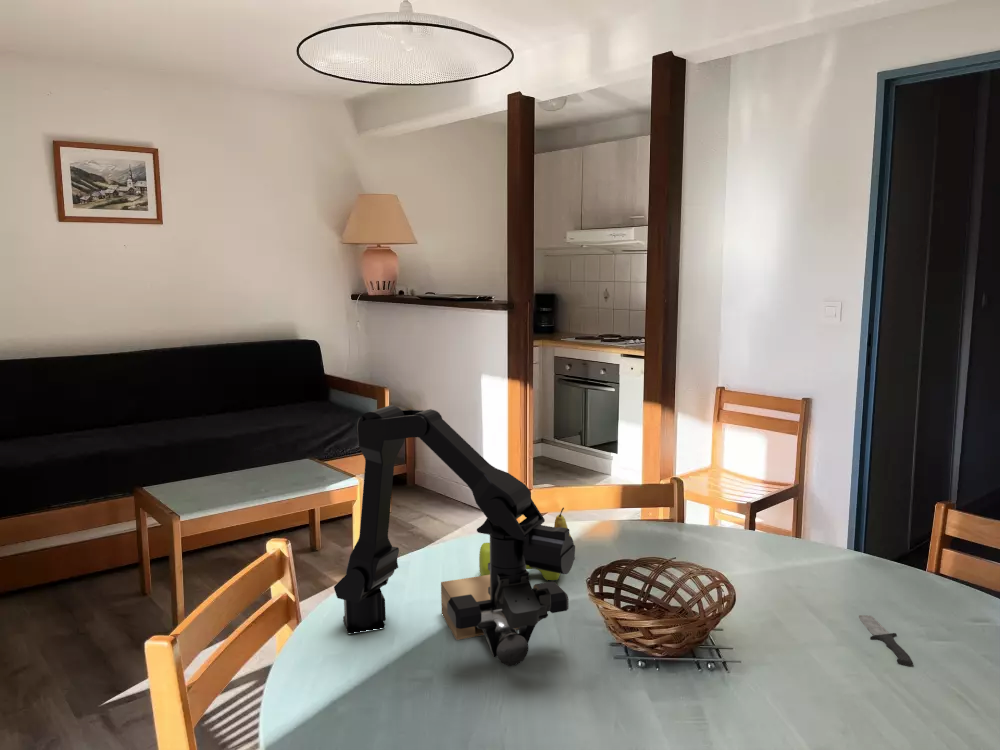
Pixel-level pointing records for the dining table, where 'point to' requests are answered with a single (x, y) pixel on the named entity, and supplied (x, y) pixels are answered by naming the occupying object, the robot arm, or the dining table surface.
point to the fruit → (560, 521)
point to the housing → (460, 588)
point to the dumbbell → (485, 559)
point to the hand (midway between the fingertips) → (508, 653)
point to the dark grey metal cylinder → (508, 642)
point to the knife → (885, 639)
